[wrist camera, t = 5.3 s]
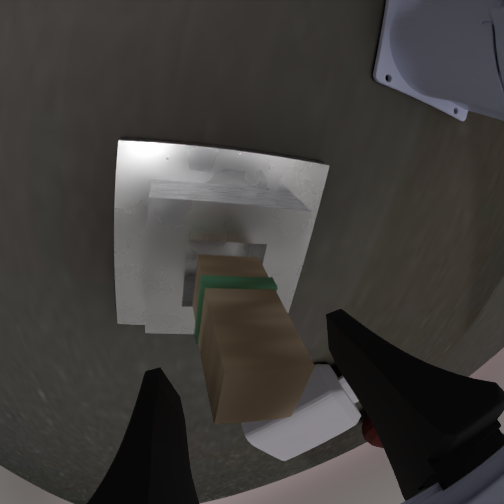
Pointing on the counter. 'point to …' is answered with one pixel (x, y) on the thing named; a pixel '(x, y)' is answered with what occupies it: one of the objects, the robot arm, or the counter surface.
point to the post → (246, 342)
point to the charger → (308, 417)
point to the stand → (205, 222)
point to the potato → (370, 433)
